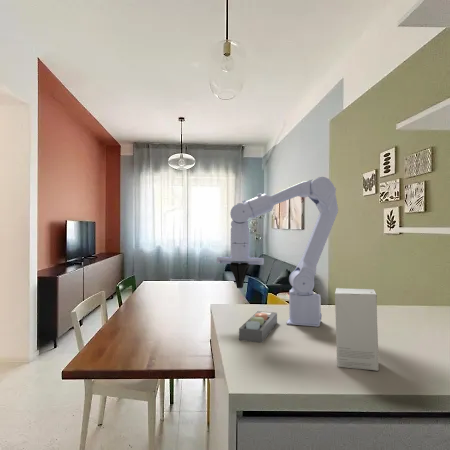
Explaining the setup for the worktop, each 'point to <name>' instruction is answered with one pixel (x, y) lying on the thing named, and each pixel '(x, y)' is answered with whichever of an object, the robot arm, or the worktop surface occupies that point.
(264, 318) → the terracotta button
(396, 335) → the worktop surface
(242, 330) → the console
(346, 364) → the skincare box
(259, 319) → the sage button
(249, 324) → the blue button
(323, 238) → the robot arm
